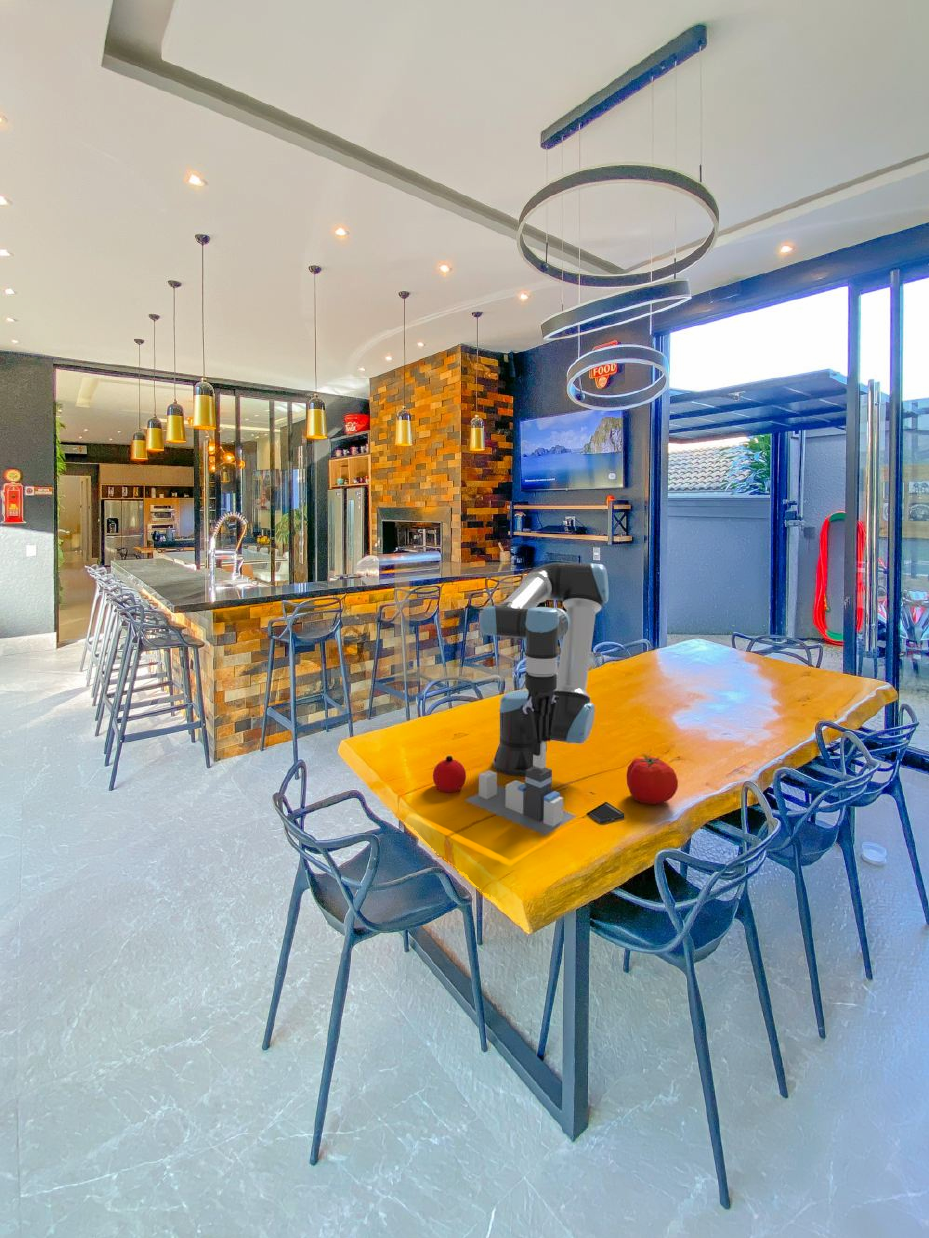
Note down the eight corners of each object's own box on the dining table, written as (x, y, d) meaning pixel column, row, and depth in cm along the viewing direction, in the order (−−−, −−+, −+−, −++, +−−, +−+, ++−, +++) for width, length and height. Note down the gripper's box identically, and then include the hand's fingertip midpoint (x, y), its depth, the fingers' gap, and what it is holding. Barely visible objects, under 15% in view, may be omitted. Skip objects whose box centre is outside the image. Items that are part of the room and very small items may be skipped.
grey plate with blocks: (497, 788, 176) (497, 761, 175) (576, 819, 158) (577, 790, 157) (464, 803, 167) (464, 775, 166) (544, 839, 149) (545, 807, 148)
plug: (536, 809, 162) (537, 764, 160) (551, 815, 158) (552, 769, 156) (524, 815, 158) (525, 769, 156) (539, 821, 155) (540, 775, 153)
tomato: (637, 785, 178) (639, 746, 176) (684, 800, 169) (687, 758, 167) (616, 800, 169) (618, 759, 167) (664, 816, 160) (667, 773, 158)
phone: (590, 791, 173) (626, 814, 159) (590, 795, 173) (626, 819, 160) (565, 796, 169) (600, 821, 156) (565, 800, 170) (600, 825, 156)
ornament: (472, 789, 175) (472, 754, 174) (453, 801, 168) (453, 765, 166) (445, 781, 180) (445, 747, 179) (426, 793, 173) (425, 758, 171)
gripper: (544, 665, 159) (543, 754, 164) (511, 675, 150) (510, 769, 154) (570, 670, 154) (567, 762, 158) (537, 681, 145) (535, 779, 149)
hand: (539, 766), depth 156 cm, fingers closed
